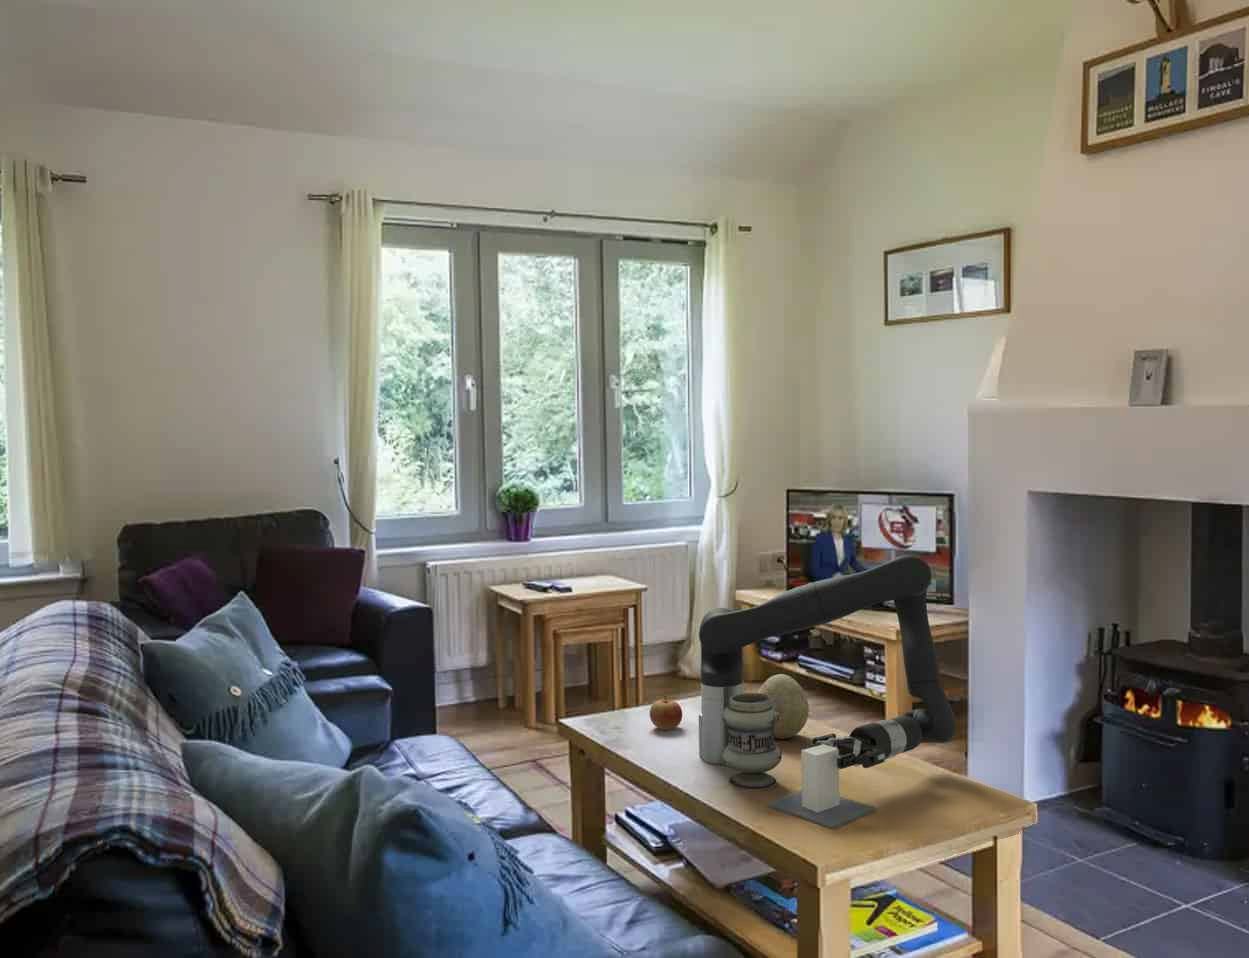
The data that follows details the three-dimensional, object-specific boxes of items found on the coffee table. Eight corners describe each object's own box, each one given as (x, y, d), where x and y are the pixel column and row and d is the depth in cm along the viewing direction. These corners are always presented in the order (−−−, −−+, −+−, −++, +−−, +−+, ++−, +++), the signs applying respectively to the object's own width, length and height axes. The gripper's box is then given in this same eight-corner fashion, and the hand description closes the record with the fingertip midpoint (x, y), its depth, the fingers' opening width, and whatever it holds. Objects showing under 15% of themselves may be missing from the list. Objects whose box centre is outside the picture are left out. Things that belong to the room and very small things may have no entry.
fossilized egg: (743, 736, 250) (742, 673, 250) (783, 726, 257) (782, 665, 257) (779, 749, 240) (778, 684, 239) (820, 738, 247) (819, 675, 246)
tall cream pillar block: (802, 806, 203) (801, 750, 202) (824, 799, 206) (823, 744, 206) (817, 812, 199) (816, 755, 199) (839, 805, 203) (838, 749, 202)
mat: (767, 806, 205) (767, 803, 205) (809, 789, 213) (809, 787, 213) (833, 828, 193) (833, 826, 193) (875, 810, 201) (875, 807, 201)
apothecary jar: (713, 778, 221) (711, 694, 220) (762, 769, 226) (761, 686, 225) (741, 796, 210) (739, 707, 209) (793, 787, 215) (791, 700, 214)
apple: (647, 724, 262) (647, 693, 261) (679, 723, 263) (678, 691, 262) (652, 734, 254) (651, 701, 253) (684, 732, 255) (684, 699, 254)
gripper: (851, 715, 218) (794, 730, 208) (906, 730, 206) (849, 747, 197) (851, 751, 218) (795, 767, 209) (906, 768, 206) (850, 787, 197)
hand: (821, 757), depth 203 cm, fingers open, 8 cm apart
